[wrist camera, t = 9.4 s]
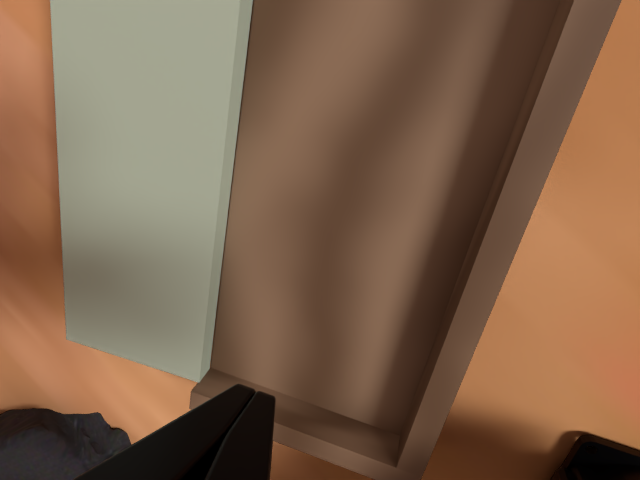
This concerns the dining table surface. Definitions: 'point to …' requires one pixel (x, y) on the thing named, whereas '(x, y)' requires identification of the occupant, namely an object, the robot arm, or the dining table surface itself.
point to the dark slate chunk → (55, 444)
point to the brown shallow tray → (385, 207)
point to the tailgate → (146, 170)
